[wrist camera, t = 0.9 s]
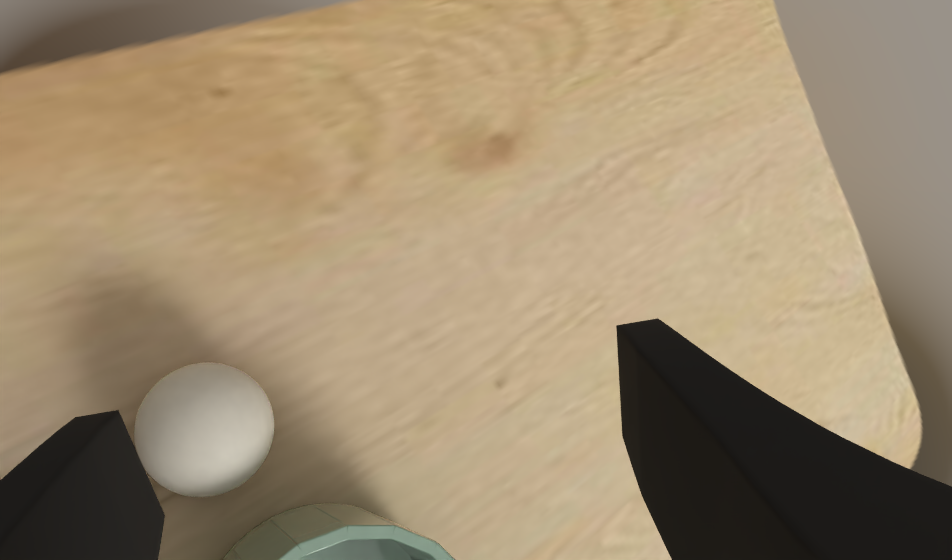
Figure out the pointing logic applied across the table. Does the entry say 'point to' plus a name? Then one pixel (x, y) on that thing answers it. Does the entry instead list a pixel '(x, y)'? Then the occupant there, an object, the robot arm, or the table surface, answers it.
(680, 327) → the table surface
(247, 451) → the off-white sphere
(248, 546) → the waste bin
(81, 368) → the table surface
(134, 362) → the table surface
